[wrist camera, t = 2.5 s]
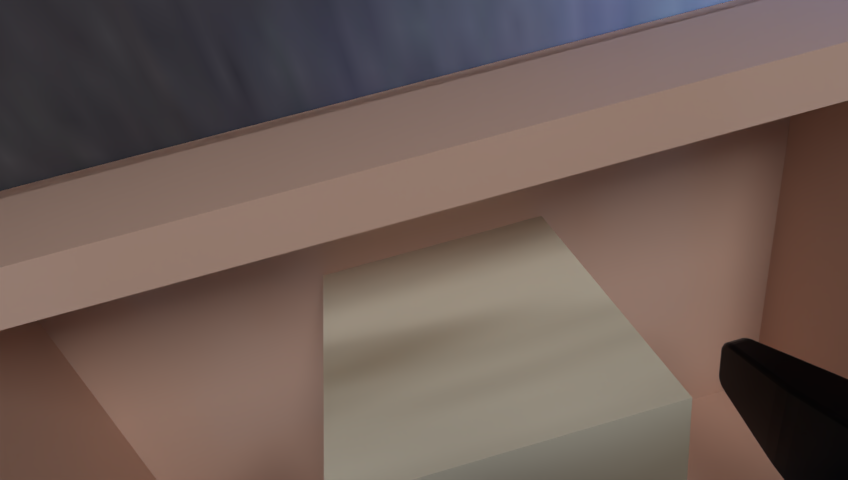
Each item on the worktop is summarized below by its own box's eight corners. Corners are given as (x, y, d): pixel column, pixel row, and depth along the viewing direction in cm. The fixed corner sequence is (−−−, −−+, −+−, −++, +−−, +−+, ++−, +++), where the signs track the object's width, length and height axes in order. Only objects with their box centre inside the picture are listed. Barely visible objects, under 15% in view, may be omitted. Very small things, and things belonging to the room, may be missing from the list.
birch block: (559, 375, 13) (680, 591, 9) (380, 427, 13) (410, 674, 8) (541, 216, 11) (692, 398, 6) (322, 275, 10) (324, 505, 6)
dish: (763, 381, 15) (875, 490, 12) (190, 550, 14) (155, 710, 11) (828, -25, 10) (1054, -14, 7) (-73, 210, 9) (-271, 340, 6)
